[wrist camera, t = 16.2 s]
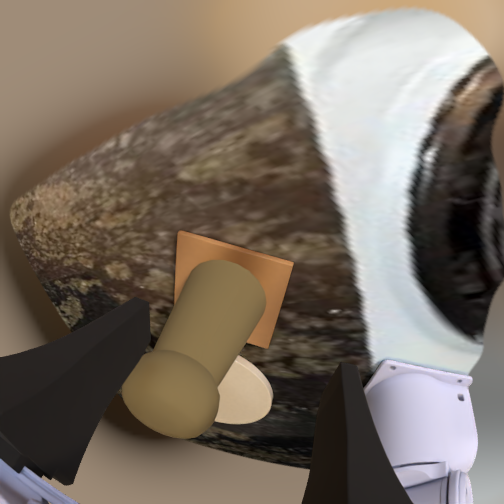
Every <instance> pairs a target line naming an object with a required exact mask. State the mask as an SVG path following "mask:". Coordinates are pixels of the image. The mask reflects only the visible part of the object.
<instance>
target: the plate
mask: <svg viewBox="0 0 504 504" xmlns="http://www.w3.org/2000/svg"><path fill="white" fill-rule="evenodd" d="M218 391H219V394H220V401H219V409H218V413H217V416H216V418H215V421H217V422H221V423H228V424H246V423H251V422H255V421H257V420H259V419H261V418H263V417H264V416H265V415H266V414H267V413H268V412H269V410H270V408H271V405H272V401H273V392H272V388H271V385H270V383H269V382H268V380H267V378H266V377H265V376H264V375H263V373H262V372H261V371H260V370H259V369H258V368H256V367H255V366H254V365H253V364H252V363H250V362H249V361H247V360H246V359H244V358H243V357H241V356H239V355H238V356H237V358H236V360H235V361H234V363H233V364H232V366H231V367H230V369H229V371H228V372H227V374H226V375H225V377H224V379H223V380H222V382H221V383H220V385H219V386H218Z"/></svg>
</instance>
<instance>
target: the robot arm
mask: <svg viewBox="0 0 504 504" xmlns="http://www.w3.org/2000/svg"><path fill="white" fill-rule="evenodd" d="M150 340H151V332H150V314H149V302H147V301H145V300H142V299H139V298H137V297H134V298H133V299H131V300H129V301H127V302H125V303H124V304H122V305H120V306H119V307H117V308H115V309H114V310H112V311H110V312H109V313H107V314H105V315H103V316H102V317H100V318H98V319H96V320H95V321H93V322H91V323H89V324H88V325H86V326H84V327H82V328H80V329H78V330H76V331H74V332H72V333H70V334H68V335H66V336H64V337H62V338H60V339H57V340H55V341H53V342H50V343H48V344H45V345H42V346H40V347H37V348H34V349H30V350H28V351H24V352H21V353H17V354H13V355H9V356H5V357H0V504H49V503H48V501H49V502H50V503H52V504H79V503H77V502H76V501H74V500H72V499H71V498H69V497H68V496H66V495H65V494H63V493H62V492H60V491H59V490H57V489H55V488H54V487H53V486H51V485H50V484H49V483H47V482H46V481H44V480H43V479H41V478H42V476H43V475H44V476H45V477H47V478H48V479H50V480H51V479H52V478H54V479H56V480H57V481H59V482H60V483H62V484H63V485H71V484H73V482H74V479H75V476H76V474H77V471H78V468H79V465H80V463H81V460H82V458H83V455H84V453H85V451H86V448H87V446H88V444H89V442H90V440H91V437H92V435H93V433H94V431H95V429H96V427H97V425H98V423H99V421H100V419H101V418H102V416H103V414H104V412H105V410H106V408H107V407H108V405H109V404H110V402H111V400H112V399H113V397H114V396H115V395H116V393H117V392H118V391H119V389H120V388H121V386H122V385H123V383H124V382H125V381H126V379H127V378H128V376H129V375H130V374H131V372H132V371H133V369H134V368H135V367H136V365H137V364H138V362H139V361H140V359H141V357H142V355H143V354H144V352H145V350H146V348H147V346H148V344H149V342H150ZM391 366H393V367H391ZM472 382H473V380H472V377H471V376H466V375H460V374H455V373H450V372H444V371H439V370H434V369H429V368H424V367H420V366H415V365H410V364H406V363H401V362H397V361H392V360H384V361H383V362H382V363H381V364H380V365H379V367H378V368H377V370H376V371H375V373H374V374H373V376H372V377H371V379H370V380H369V382H368V383H367V384H366V386H365V387H364V389H363V385H362V382H361V378H360V374H359V370H358V367H357V366H356V365H352V364H348V363H343V362H340V364H339V366H338V367H337V369H336V371H335V373H334V374H333V376H332V378H331V380H330V381H329V383H328V385H327V386H326V388H325V390H324V391H323V393H322V396H321V400H320V405H319V409H318V414H317V418H316V426H315V435H314V443H313V451H312V459H311V467H310V473H309V478H308V482H307V486H306V490H305V493H304V497H303V500H302V504H473V496H472V489H471V483H470V479H469V476H468V474H467V472H468V471H469V470H470V468H471V467H472V465H473V462H474V460H475V456H476V453H477V447H478V436H477V430H476V424H475V419H474V414H473V409H472V404H471V399H470V395H469V390H468V387H469V385H470V384H471V383H472Z"/></svg>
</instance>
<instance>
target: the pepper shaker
mask: <svg viewBox="0 0 504 504" xmlns="http://www.w3.org/2000/svg"><path fill="white" fill-rule="evenodd" d="M265 307H266V296H265V291H264V289H263V288H262V286H261V284H260V282H259V280H258V279H257V278H256V277H255V276H254V275H253V274H252V273H251V272H250V271H248V270H247V269H245V268H243V267H242V266H240V265H238V264H236V263H233V262H229V261H226V260H209V261H206V262H203V263H200V264H198V265H197V266H196V267H195V268H194V269H193V270H192V271H191V273H190V275H189V277H188V279H187V281H186V283H185V285H184V287H183V289H182V291H181V293H180V295H179V297H178V299H177V301H176V303H175V305H174V307H173V309H172V311H171V314H170V316H169V318H168V320H167V322H166V324H165V326H164V328H163V330H162V333H161V335H160V337H159V339H158V341H157V343H156V345H155V348H154V350H153V352H149V353H146V354H144V355H143V356H142V357H141V359H140V361H139V362H138V364H137V365H136V367H135V368H134V369H133V371H132V372H131V374H130V375H129V376H128V378H127V379H126V381H125V382H124V383H123V385H122V396H123V400H124V402H125V404H126V405H127V407H128V408H129V410H130V411H131V413H132V414H133V415H134V416H135V417H136V418H137V419H138V420H140V421H141V422H142V423H144V424H145V425H146V426H148V427H150V428H151V429H153V430H155V431H157V432H159V433H162V434H164V435H167V436H171V437H174V438H194V437H197V436H199V435H200V434H202V433H204V432H205V431H206V430H207V429H208V428H209V427H210V426H211V425H212V424H213V422H214V421H215V418H216V416H217V413H218V409H219V401H220V394H219V391H218V386H219V385H220V383H221V382H222V380H223V379H224V377H225V375H226V374H227V372H228V371H229V369H230V367H231V366H232V364H233V363H234V361H235V360H236V358H237V356H238V355H239V353H240V352H241V350H242V348H243V347H244V345H245V343H246V342H247V340H248V339H249V337H250V335H251V334H252V332H253V330H254V329H255V327H256V326H257V324H258V322H259V321H260V319H261V317H262V316H263V314H264V311H265Z"/></svg>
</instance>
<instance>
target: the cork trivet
mask: <svg viewBox="0 0 504 504" xmlns="http://www.w3.org/2000/svg"><path fill="white" fill-rule="evenodd" d="M209 260H226V261H229V262H233V263H236V264H238V265H240V266H242V267H243V268H245V269H247V270H248V271H250V272H251V273H252V274H253V275H254V276H255V277H256V278H257V279H258V280H259V282H260V284H261V286H262V288H263V289H264V291H265V296H266V307H265V311H264V314H263V316H262V317H261V319H260V321H259V322H258V324H257V326H256V327H255V329H254V330H253V332H252V334H251V335H250V337H249V339H248V340H247V343H250V344H253V345H256V346H260V347H263V348H266V349H268V347H269V344H270V341H271V337H272V334H273V331H274V328H275V325H276V321H277V318H278V315H279V311H280V308H281V305H282V301H283V298H284V295H285V291H286V288H287V285H288V281H289V278H290V274H291V271H292V267H293V264H294V263H293V262H291V261H287V260H284V259H280V258H277V257H273V256H270V255H266V254H263V253H259V252H256V251H252V250H249V249H245V248H242V247H238V246H235V245H231V244H228V243H224V242H221V241H217V240H214V239H210V238H206V237H203V236H199V235H196V234H192V233H189V232H185V231H182V230H180V231H179V232H178V234H177V251H176V272H175V300H174V305H175V303H176V301H177V299H178V297H179V295H180V293H181V291H182V289H183V287H184V285H185V283H186V281H187V279H188V277H189V275H190V273H191V271H192V270H193V269H194V268H195V267H196V266H197V265H198V264H200V263H203V262H206V261H209Z"/></svg>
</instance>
